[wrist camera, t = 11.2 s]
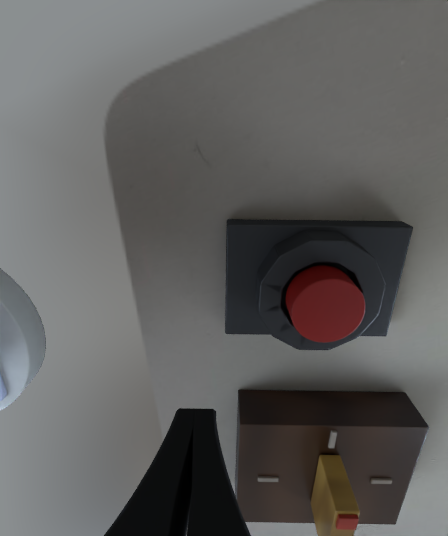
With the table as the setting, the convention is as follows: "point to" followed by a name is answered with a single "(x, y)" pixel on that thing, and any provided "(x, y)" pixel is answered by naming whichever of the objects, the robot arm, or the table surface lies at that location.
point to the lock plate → (324, 451)
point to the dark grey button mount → (305, 256)
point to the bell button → (324, 304)
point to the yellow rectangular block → (333, 499)
